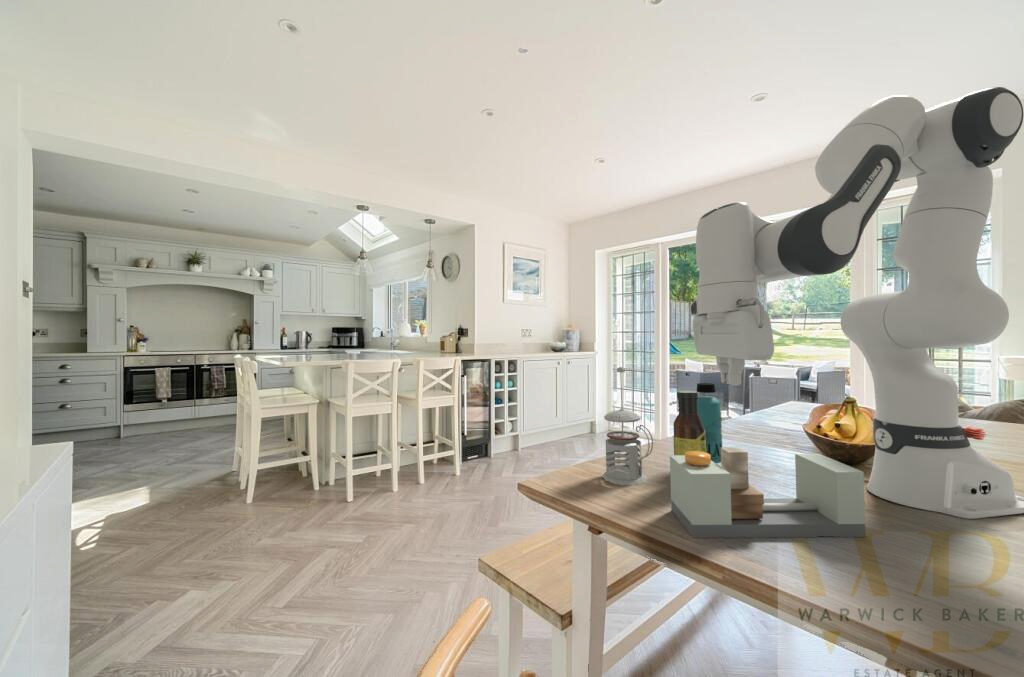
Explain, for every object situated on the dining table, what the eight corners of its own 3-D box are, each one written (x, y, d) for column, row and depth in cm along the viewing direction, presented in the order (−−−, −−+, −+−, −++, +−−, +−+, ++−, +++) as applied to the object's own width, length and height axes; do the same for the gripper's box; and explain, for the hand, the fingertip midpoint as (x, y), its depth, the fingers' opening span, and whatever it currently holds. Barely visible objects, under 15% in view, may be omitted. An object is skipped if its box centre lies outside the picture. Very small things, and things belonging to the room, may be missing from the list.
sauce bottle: (711, 492, 82) (708, 393, 82) (678, 491, 83) (675, 393, 83) (702, 481, 88) (700, 389, 88) (672, 480, 89) (669, 389, 89)
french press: (615, 467, 99) (612, 364, 99) (662, 478, 91) (659, 366, 91) (593, 478, 92) (590, 367, 92) (641, 491, 84) (638, 369, 84)
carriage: (738, 499, 72) (737, 443, 72) (764, 519, 64) (762, 456, 64) (710, 499, 73) (708, 443, 73) (731, 519, 65) (729, 456, 65)
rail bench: (819, 509, 73) (818, 453, 73) (865, 536, 63) (863, 472, 63) (671, 510, 74) (669, 455, 74) (692, 537, 64) (691, 474, 64)
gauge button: (705, 486, 71) (704, 450, 71) (715, 495, 67) (714, 457, 67) (682, 486, 71) (681, 451, 71) (691, 495, 67) (689, 458, 67)
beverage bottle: (697, 470, 95) (695, 384, 95) (690, 461, 102) (687, 381, 102) (727, 470, 94) (725, 384, 94) (718, 461, 101) (715, 381, 101)
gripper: (784, 295, 58) (788, 391, 58) (719, 305, 78) (722, 377, 79) (738, 297, 58) (743, 393, 58) (685, 307, 79) (689, 378, 79)
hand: (731, 384), depth 69 cm, fingers closed
